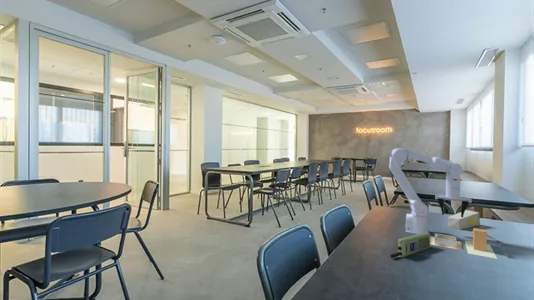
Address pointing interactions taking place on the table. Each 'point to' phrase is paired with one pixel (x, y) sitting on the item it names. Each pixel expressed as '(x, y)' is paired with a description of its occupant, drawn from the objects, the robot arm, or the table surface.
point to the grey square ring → (445, 240)
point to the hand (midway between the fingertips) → (452, 215)
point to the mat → (486, 253)
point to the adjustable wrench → (493, 238)
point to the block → (464, 220)
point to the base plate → (446, 246)
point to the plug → (479, 239)
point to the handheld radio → (412, 244)
